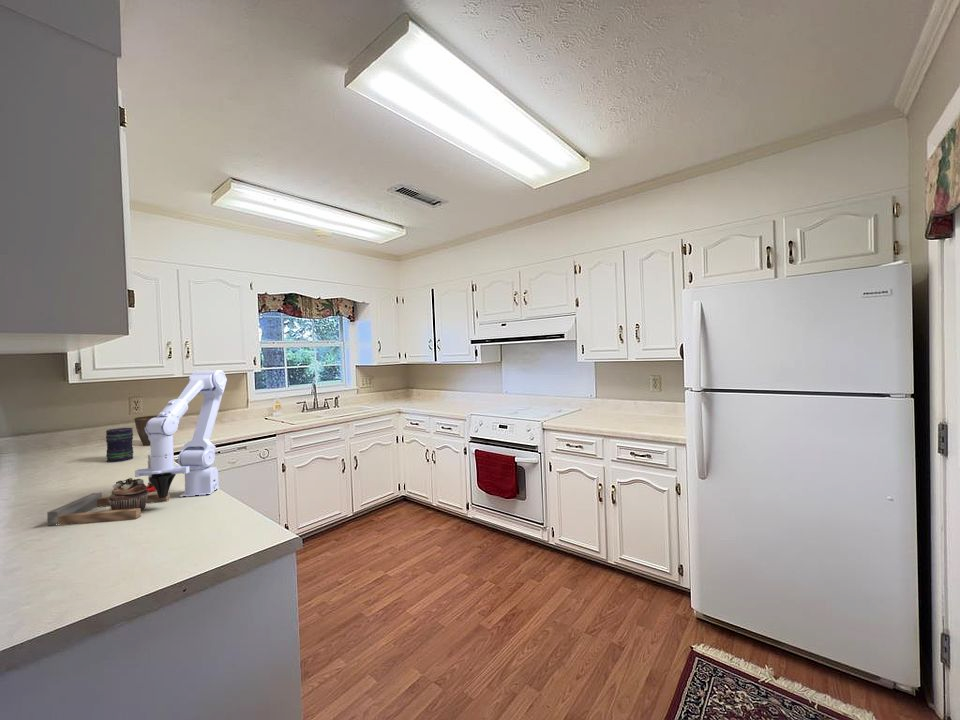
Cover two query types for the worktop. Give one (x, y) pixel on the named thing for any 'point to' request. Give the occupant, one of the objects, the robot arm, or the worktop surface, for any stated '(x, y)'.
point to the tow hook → (150, 486)
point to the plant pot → (143, 428)
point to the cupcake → (128, 495)
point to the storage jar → (119, 444)
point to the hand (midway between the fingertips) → (163, 497)
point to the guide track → (78, 514)
